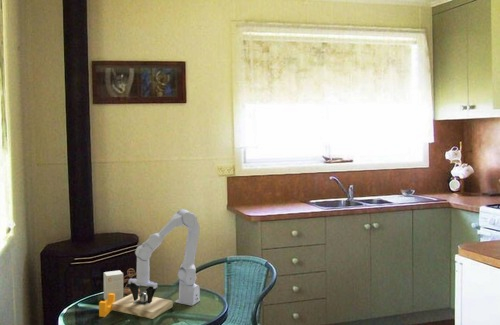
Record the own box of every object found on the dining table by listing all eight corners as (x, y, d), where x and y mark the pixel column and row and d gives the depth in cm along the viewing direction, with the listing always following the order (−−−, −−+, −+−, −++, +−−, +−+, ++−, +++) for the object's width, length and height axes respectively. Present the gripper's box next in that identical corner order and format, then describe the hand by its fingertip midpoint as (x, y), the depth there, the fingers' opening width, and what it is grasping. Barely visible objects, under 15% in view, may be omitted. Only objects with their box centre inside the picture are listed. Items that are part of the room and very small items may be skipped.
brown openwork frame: (121, 294, 251) (121, 270, 250) (121, 291, 255) (121, 267, 254) (139, 293, 254) (140, 269, 253) (139, 290, 257) (139, 267, 256)
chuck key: (148, 306, 236) (149, 291, 235) (142, 310, 230) (142, 295, 230) (143, 305, 237) (143, 290, 236) (136, 309, 231) (136, 294, 231)
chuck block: (172, 306, 236) (172, 300, 236) (152, 318, 222) (152, 312, 222) (133, 298, 245) (133, 292, 245) (111, 309, 231) (111, 303, 230)
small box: (120, 296, 249) (120, 269, 247) (123, 300, 243) (123, 273, 242) (103, 298, 245) (103, 271, 244) (106, 302, 239) (106, 275, 238)
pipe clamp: (106, 306, 235) (106, 292, 234) (115, 307, 235) (115, 293, 234) (95, 316, 223) (95, 302, 223) (104, 317, 223) (104, 302, 222)
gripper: (124, 272, 231) (124, 301, 232) (151, 276, 225) (150, 306, 227) (133, 268, 238) (133, 296, 239) (160, 272, 232) (159, 301, 233)
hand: (142, 301), depth 233 cm, fingers open, 7 cm apart
